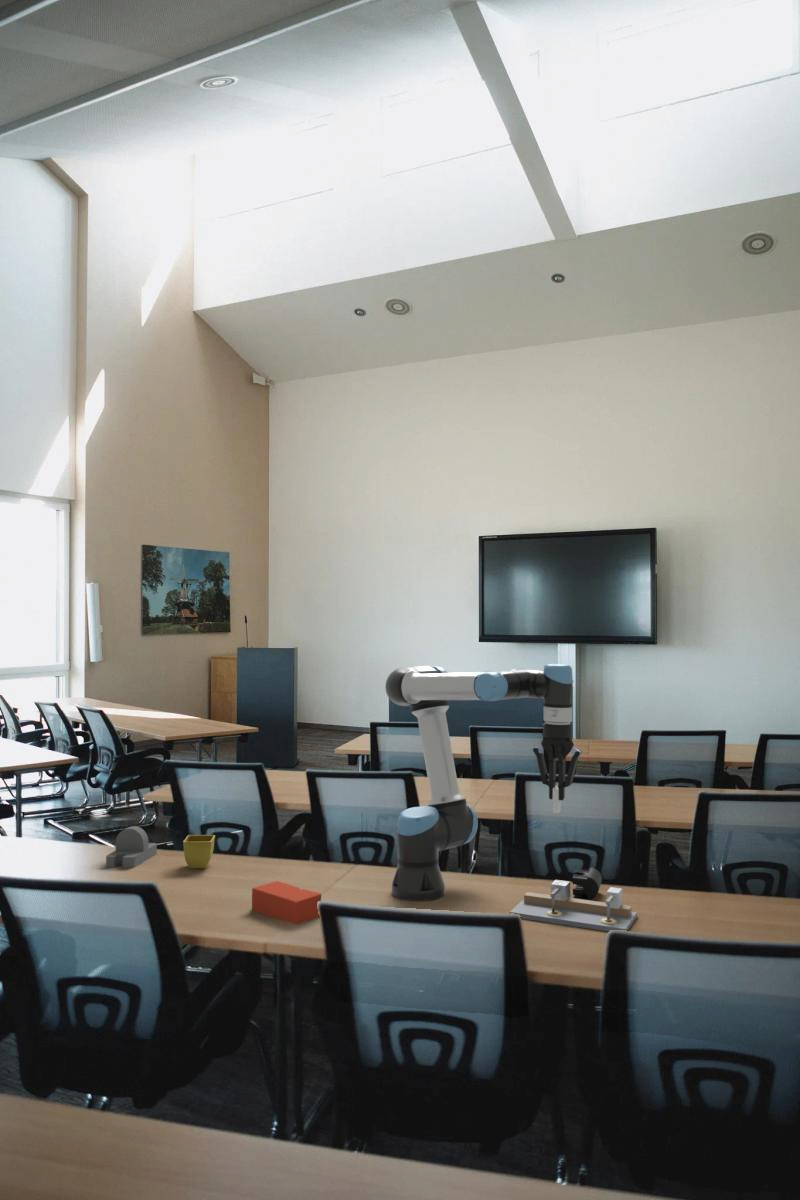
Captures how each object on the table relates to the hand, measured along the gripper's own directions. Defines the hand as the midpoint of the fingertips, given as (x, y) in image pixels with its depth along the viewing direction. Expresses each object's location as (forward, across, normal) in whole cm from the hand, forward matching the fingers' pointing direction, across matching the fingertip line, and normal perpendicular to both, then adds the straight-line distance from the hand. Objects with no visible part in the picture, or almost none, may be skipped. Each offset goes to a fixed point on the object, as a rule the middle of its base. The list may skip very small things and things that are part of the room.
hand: (556, 811), depth 233 cm
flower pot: (+30, -114, -5) cm, 118 cm away
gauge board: (+27, +5, -1) cm, 27 cm away
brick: (+28, -64, -30) cm, 77 cm away
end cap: (+27, +4, +18) cm, 33 cm away
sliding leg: (+25, +1, 0) cm, 25 cm away
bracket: (+30, -139, -8) cm, 142 cm away
